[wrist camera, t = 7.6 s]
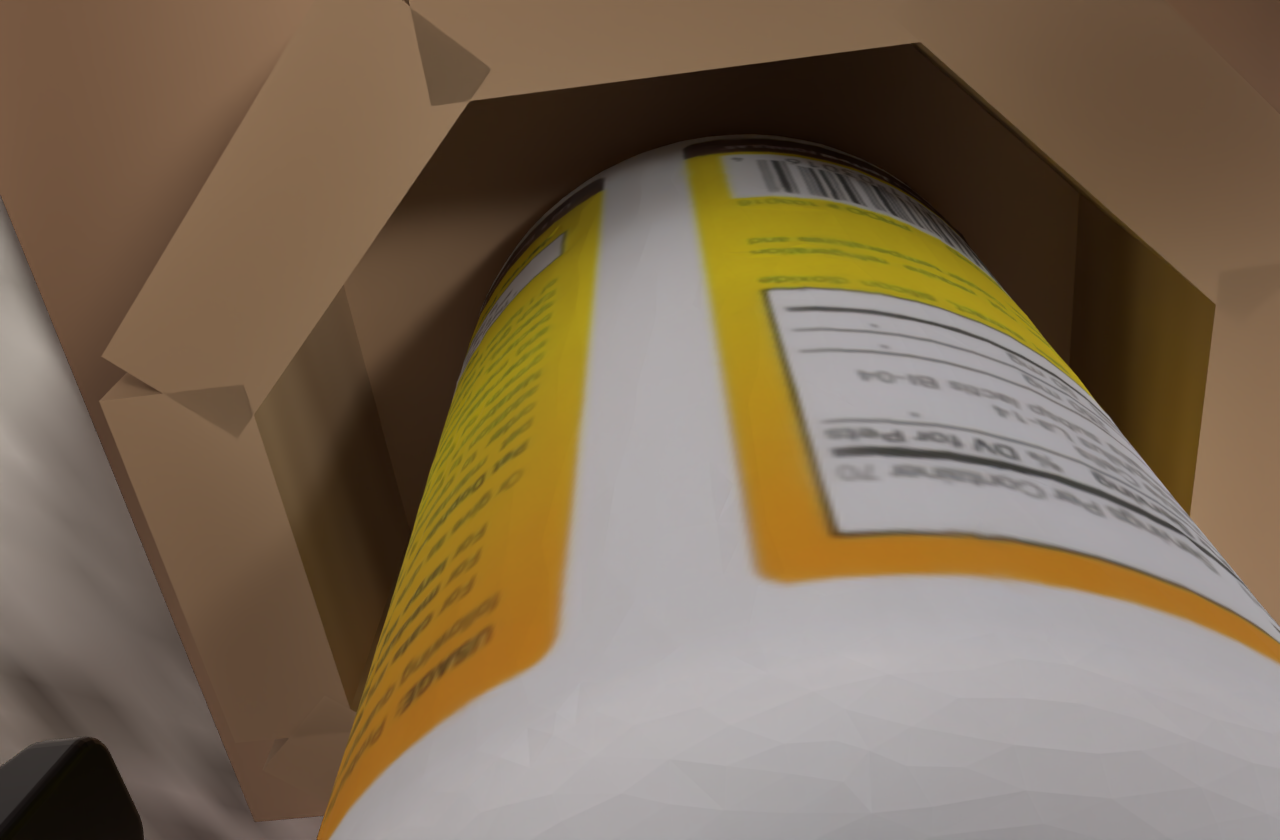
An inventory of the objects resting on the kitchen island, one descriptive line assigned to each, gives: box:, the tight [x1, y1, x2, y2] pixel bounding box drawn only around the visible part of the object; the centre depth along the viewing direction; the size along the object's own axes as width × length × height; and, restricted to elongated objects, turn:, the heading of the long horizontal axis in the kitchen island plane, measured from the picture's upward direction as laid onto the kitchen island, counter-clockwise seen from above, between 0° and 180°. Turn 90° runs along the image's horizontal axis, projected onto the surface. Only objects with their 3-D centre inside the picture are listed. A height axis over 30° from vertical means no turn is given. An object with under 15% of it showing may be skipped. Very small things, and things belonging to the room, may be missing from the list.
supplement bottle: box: [317, 134, 1280, 840], centre depth 8 cm, size 6×6×10 cm
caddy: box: [0, 0, 1280, 822], centre depth 11 cm, size 14×12×4 cm
